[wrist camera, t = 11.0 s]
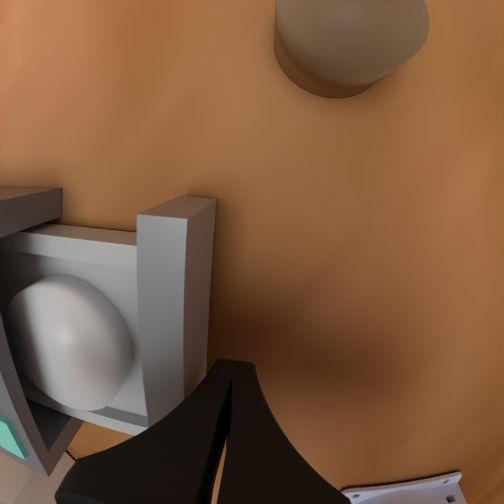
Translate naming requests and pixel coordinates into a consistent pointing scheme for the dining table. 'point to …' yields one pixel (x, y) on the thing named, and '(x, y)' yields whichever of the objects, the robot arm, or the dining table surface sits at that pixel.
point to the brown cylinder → (346, 41)
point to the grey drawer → (131, 300)
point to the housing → (3, 371)
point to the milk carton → (30, 481)
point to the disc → (70, 341)
